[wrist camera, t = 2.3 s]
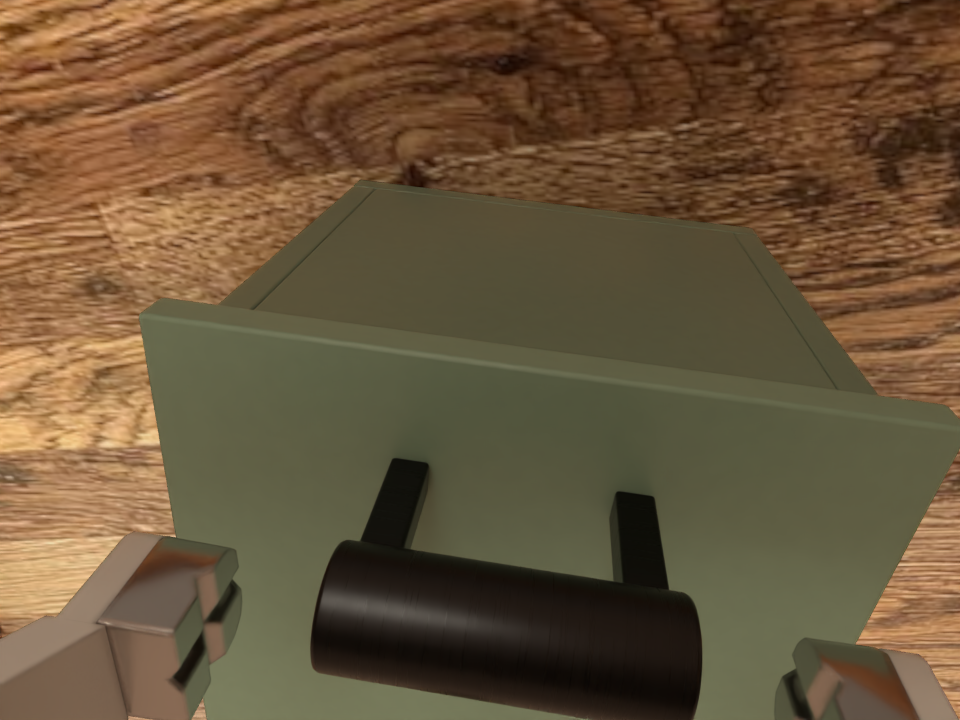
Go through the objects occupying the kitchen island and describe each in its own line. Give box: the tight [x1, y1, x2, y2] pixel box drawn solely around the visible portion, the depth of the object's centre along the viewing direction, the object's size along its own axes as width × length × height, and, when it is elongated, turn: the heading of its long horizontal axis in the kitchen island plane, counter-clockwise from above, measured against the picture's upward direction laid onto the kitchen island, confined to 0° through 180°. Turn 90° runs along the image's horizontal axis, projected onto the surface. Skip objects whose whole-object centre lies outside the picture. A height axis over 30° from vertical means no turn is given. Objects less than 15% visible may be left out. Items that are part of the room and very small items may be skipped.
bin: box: [218, 180, 879, 396], centre depth 22 cm, size 16×14×13 cm
